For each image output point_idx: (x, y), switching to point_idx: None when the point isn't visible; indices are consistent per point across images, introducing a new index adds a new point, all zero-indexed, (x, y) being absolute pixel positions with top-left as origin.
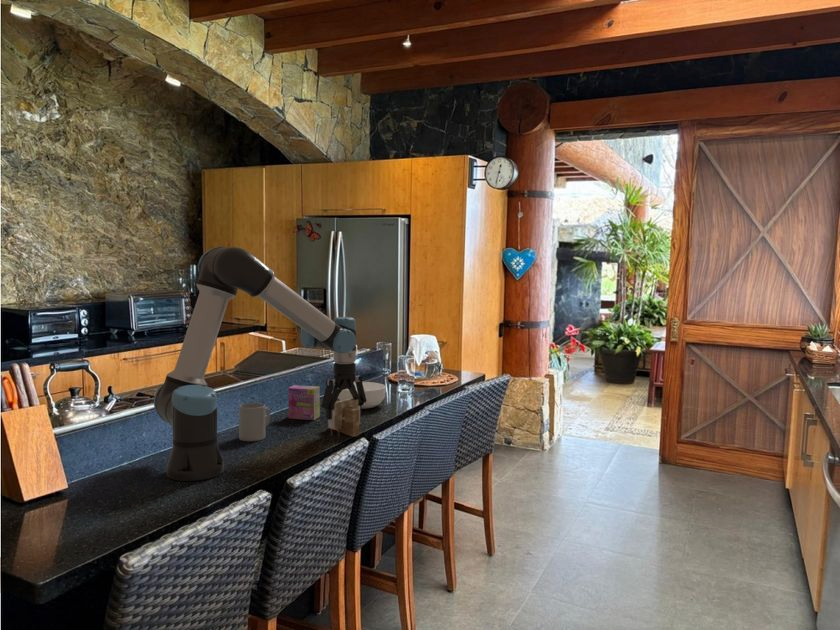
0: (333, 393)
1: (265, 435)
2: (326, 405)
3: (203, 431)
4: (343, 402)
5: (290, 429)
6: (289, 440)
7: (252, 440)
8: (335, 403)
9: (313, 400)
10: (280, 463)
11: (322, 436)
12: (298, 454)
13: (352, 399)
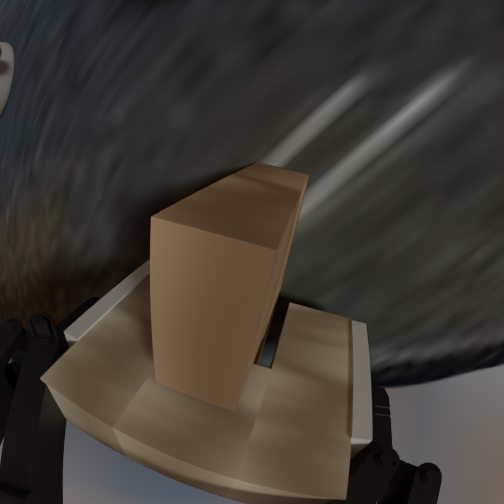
0: (13, 460)
1: (2, 102)
2: (17, 373)
3: None
4: (142, 460)
5: (97, 35)
6: (28, 190)
7: None
8: (69, 420)
9: None
10: (2, 307)
11: (123, 253)
12: (25, 307)
13: (281, 501)
